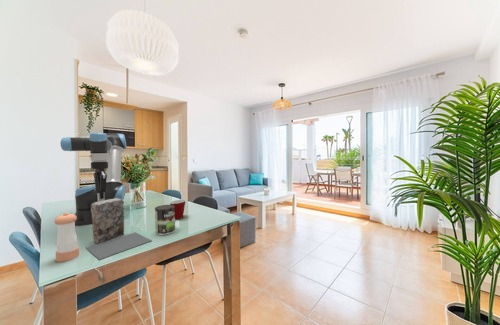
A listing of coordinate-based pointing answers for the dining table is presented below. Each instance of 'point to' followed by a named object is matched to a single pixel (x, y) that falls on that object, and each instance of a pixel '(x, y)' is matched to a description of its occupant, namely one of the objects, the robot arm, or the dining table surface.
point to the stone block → (107, 219)
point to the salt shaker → (66, 238)
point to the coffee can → (165, 219)
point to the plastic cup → (178, 208)
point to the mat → (117, 245)
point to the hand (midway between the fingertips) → (101, 204)
